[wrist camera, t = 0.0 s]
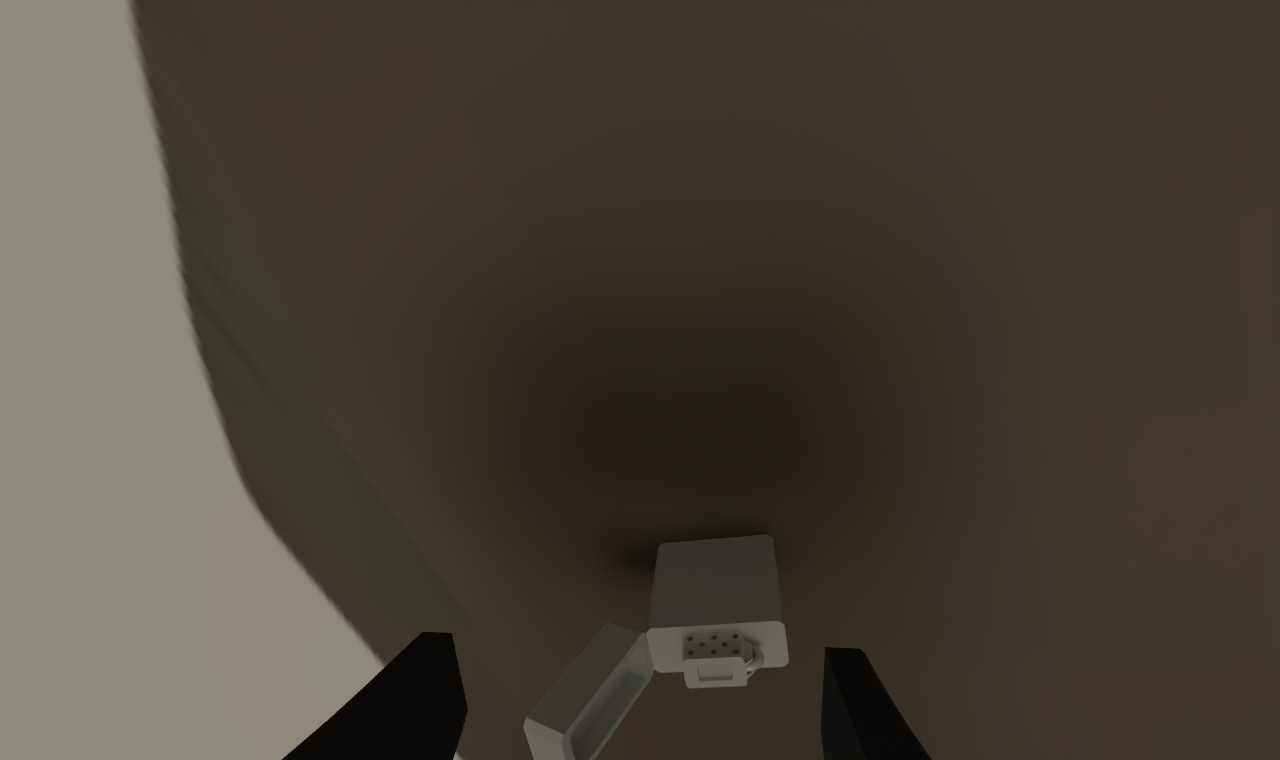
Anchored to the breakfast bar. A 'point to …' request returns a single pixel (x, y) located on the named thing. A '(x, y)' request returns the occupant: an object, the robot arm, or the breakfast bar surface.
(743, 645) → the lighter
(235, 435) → the breakfast bar surface
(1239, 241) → the breakfast bar surface
